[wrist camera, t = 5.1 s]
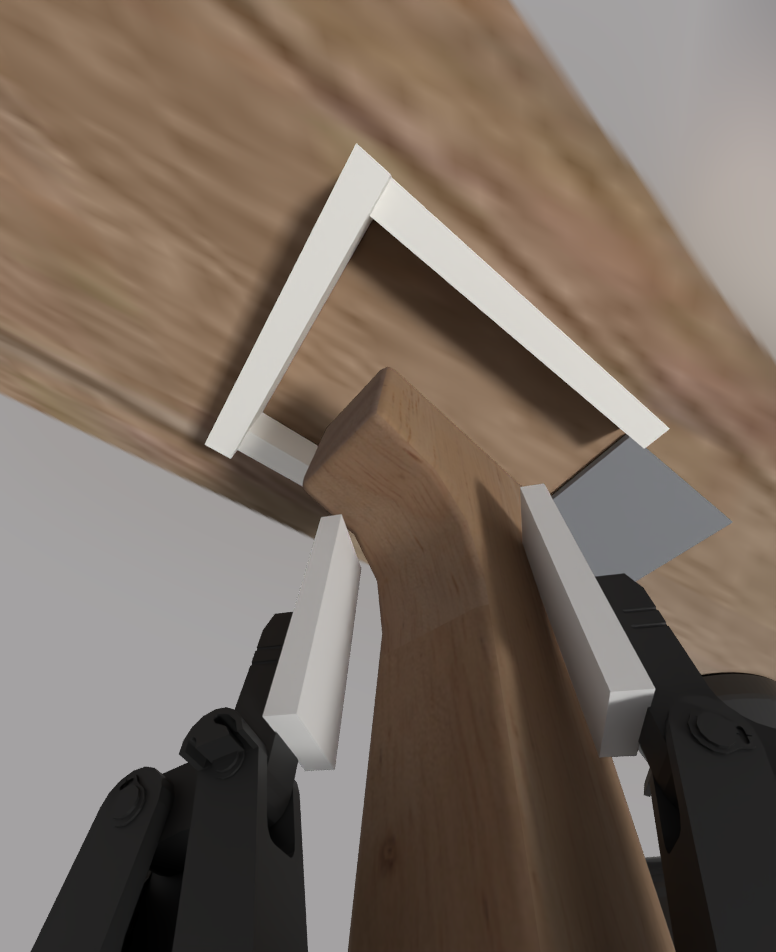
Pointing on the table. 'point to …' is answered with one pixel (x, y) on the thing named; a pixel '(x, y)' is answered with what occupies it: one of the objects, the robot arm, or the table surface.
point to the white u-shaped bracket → (384, 200)
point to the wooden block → (471, 712)
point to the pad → (634, 512)
